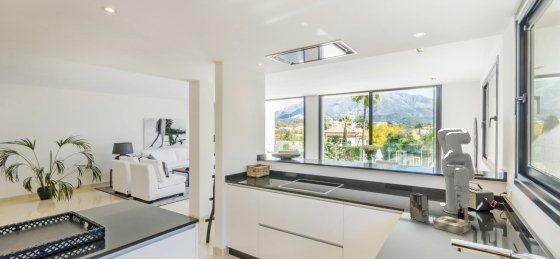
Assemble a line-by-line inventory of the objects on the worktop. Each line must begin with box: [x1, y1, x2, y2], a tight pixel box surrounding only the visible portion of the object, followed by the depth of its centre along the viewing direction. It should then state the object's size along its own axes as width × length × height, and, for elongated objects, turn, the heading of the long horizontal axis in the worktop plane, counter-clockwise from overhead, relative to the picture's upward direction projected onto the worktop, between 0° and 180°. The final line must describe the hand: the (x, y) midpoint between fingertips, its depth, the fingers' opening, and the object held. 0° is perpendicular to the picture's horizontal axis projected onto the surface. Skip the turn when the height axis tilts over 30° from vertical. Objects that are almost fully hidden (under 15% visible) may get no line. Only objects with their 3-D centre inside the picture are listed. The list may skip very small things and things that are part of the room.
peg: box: [460, 206, 469, 221], centre depth 155 cm, size 4×4×11 cm
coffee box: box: [409, 192, 430, 223], centre depth 162 cm, size 9×6×16 cm
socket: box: [432, 215, 472, 235], centre depth 147 cm, size 14×14×4 cm
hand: (462, 217), depth 155 cm, fingers open, 4 cm apart
